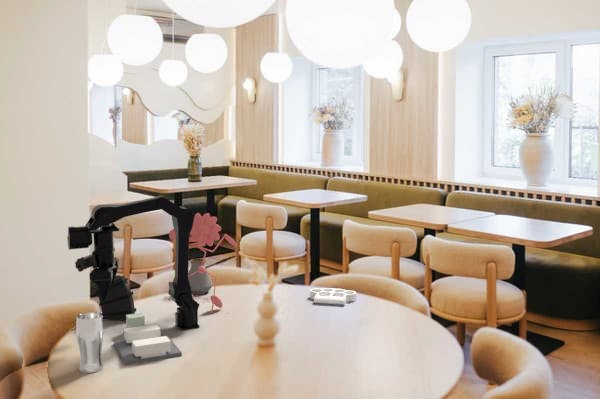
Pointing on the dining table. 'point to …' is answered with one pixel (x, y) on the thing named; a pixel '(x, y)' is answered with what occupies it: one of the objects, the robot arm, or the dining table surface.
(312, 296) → the white holed tray
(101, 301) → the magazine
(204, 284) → the coffee pot
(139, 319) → the block
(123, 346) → the rail panel
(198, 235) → the figurine
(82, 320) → the beer glass
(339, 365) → the dining table surface
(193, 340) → the dining table surface
